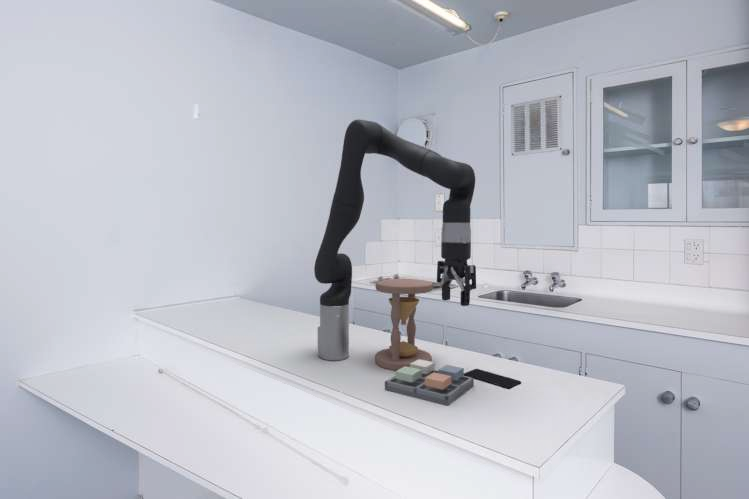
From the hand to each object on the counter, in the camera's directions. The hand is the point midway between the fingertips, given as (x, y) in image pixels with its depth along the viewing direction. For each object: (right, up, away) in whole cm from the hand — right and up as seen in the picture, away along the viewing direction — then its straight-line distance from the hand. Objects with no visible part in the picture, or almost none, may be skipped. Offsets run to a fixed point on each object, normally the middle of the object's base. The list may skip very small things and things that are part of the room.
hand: (455, 302), depth 122 cm
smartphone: (+12, -23, +10) cm, 28 cm away
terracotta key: (-5, -20, -3) cm, 21 cm away
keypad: (-6, -23, +2) cm, 24 cm away
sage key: (-12, -20, +1) cm, 23 cm away
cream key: (-8, -20, +8) cm, 22 cm away
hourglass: (-12, -21, +24) cm, 35 cm away
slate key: (-1, -20, +3) cm, 20 cm away
